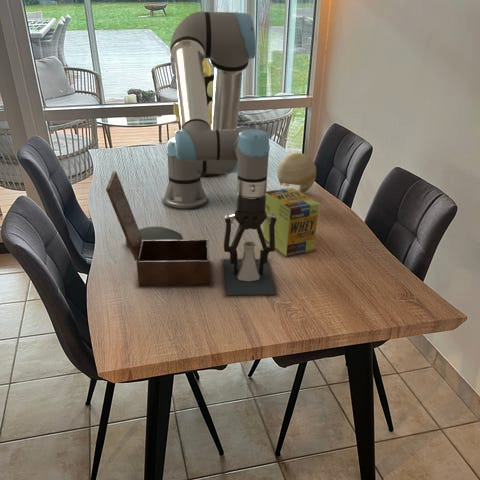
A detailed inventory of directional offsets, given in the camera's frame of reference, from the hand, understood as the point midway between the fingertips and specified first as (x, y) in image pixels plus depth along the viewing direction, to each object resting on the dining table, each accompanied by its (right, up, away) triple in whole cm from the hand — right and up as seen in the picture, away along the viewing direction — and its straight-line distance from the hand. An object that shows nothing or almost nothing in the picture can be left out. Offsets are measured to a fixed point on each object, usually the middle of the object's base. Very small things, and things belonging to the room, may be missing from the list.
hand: (248, 272), depth 143 cm
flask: (0, -1, +1) cm, 1 cm away
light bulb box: (+14, +22, +36) cm, 45 cm away
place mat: (0, -1, +1) cm, 1 cm away
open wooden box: (-21, 0, +1) cm, 21 cm away
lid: (-32, +14, -10) cm, 36 cm away
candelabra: (-16, +52, +77) cm, 94 cm away
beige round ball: (+20, +37, +58) cm, 71 cm away
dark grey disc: (-29, +10, +16) cm, 35 cm away
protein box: (+13, +11, +19) cm, 26 cm away
